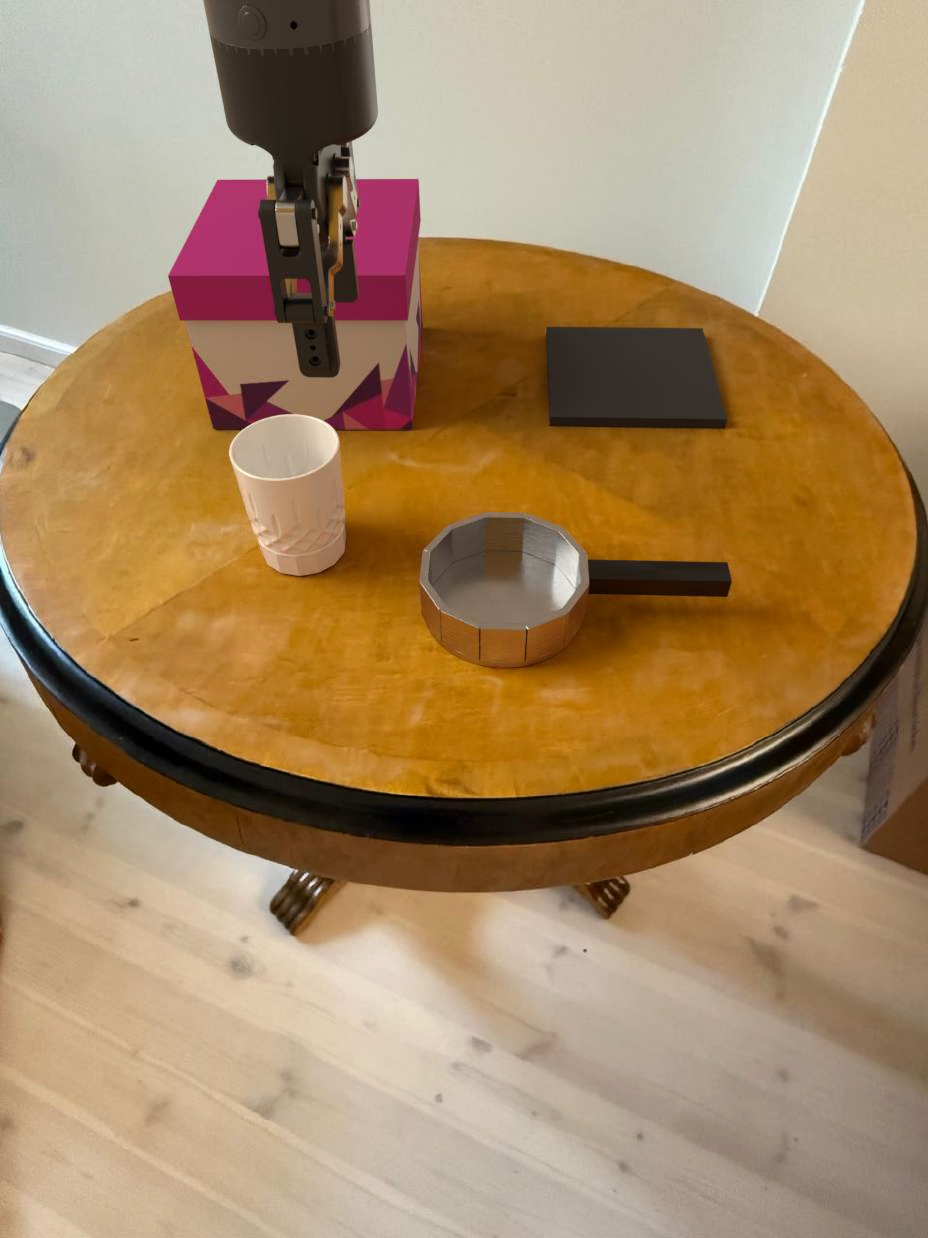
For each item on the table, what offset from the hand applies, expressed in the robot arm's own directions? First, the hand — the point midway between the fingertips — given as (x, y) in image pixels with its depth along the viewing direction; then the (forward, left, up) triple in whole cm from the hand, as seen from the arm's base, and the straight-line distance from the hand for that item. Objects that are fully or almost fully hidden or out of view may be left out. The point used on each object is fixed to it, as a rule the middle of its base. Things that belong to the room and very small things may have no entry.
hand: (332, 334), depth 53 cm
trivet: (-23, -29, -21) cm, 42 cm away
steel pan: (-16, +2, -21) cm, 26 cm away
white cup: (+5, -4, -21) cm, 22 cm away
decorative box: (+7, -29, -21) cm, 37 cm away
